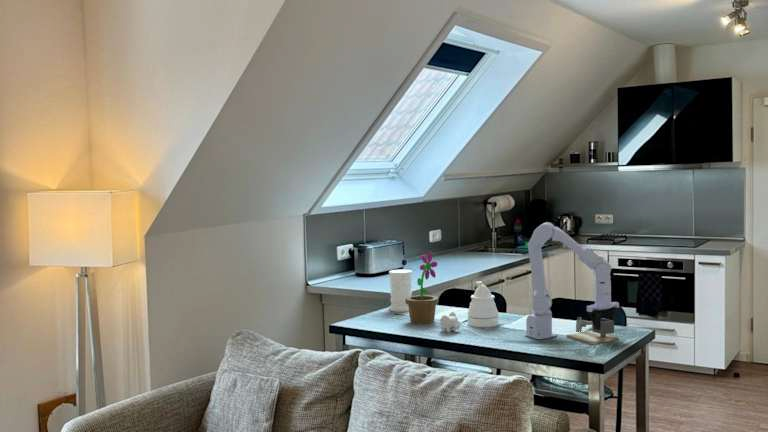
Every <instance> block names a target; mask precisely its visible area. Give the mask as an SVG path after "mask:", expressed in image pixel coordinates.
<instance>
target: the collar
mask: <svg viewBox="0 0 768 432" xmlns="http://www.w3.org/2000/svg"><path fill="white" fill-rule="evenodd" d="M591 327H592V328H591V331H592V332H596V333H599V334H614V333H615V320H614V321H613V320H609V319H606V317H605V318H604V317H601V321H600V330H596V329H594V325H593V322H592V325H591Z"/></svg>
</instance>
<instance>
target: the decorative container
mask: <svg viewBox="0 0 768 432" xmlns="http://www.w3.org/2000/svg"><path fill="white" fill-rule="evenodd" d="M388 275H389V276H390V279H389V281H390V303H391V304H390V305H389V307H388V309H389V311H391V312H397V313H398V312H400V313H401V312H403V313H405V312H409V307H408V304H406V303H405V299H406V297H409V296H413V292H412V287H413V286H412V280H413V279H412V275H413V270H411V269H392V270H389V271H388Z"/></svg>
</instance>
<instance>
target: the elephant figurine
mask: <svg viewBox="0 0 768 432" xmlns="http://www.w3.org/2000/svg"><path fill="white" fill-rule="evenodd" d="M448 315H449V316H447V315H442V316H441V317H440V319H439V322H440V329H441V332H443V333H451V332H453V331H458V330H459V329H460V328H461V327H463V324H461V323H460V322H459V319H458V317H457V315H456V313H455V312H453V311H452V312H450V313H449V314H448ZM460 326H461V327H460Z"/></svg>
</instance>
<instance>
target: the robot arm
mask: <svg viewBox="0 0 768 432" xmlns="http://www.w3.org/2000/svg"><path fill="white" fill-rule="evenodd" d="M550 239H551V241H552V242H553V241H554V242H560V243H562V244H563V245H564V246H566V247H567V248H568V249H570V250H571V251H572V252H574V253H575V254H576V255H577V259H578V260H579V261H580V262H581V263H582V264H584V265H585V266H586V267H588V268H589V269H590V270H593V272H594V275H595V280H594V293H595V294H594V297H595V298H594V299H595V300H594V303H593V304H590V305H586V312H587V314H588V315H589V317H590V319H591V321H592V322H593V325H594V329H596V330H600V321H601V318H602V316H603V312H600V311H604V315H605V319H609V320H613V321H614V322H615V318H616V315H617V314H618V313H619V309H620V303H619V302H618V301H612V280H611V278H612V277H611V271H612V265H611V264H610V262H609V261H608V260H606V259H604V257H603V256H599V254H597V253H595V251H594V249H593V248H592V247H583V246H581V245H580V244H579V243H578V242H577V241H575V239H573V238H572V237H571V236H570V235H569V234H567V233H566V231H564V230H562V229H561V228H560V227H558V226H555V224H553V223H552V222H548V221H546V222H543V223H542V224H540V225H539V226H537V227H536V228H535V229H534V230H533V233H532V235H531V237H530V239H529V241H528V243H527V248H528V256H529V258H528V259H529V265H530V271H531V278H532V287H533V295H532V296H533V302H532V305H531V306H532V310H533V311H532V314H531V315H528V316H527V317H526V322H525V323H526V333H525V336H526V337H529V338H533V339H536V340H541V339H548V338H549V339H550V338H553V337H558V335H557V334H555V333H553V321H552V320H553V319H552V318H553V313H552V310H551V307H552V304H553V300H552V298H551V297H550V295H549V290H548V288H547V283H546V274H545V268H544V261H543V254H542V253H543V252H542V247H543V246H544V245H545V243H546V242H547V241H549V240H550ZM618 308H619V309H618Z"/></svg>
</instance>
